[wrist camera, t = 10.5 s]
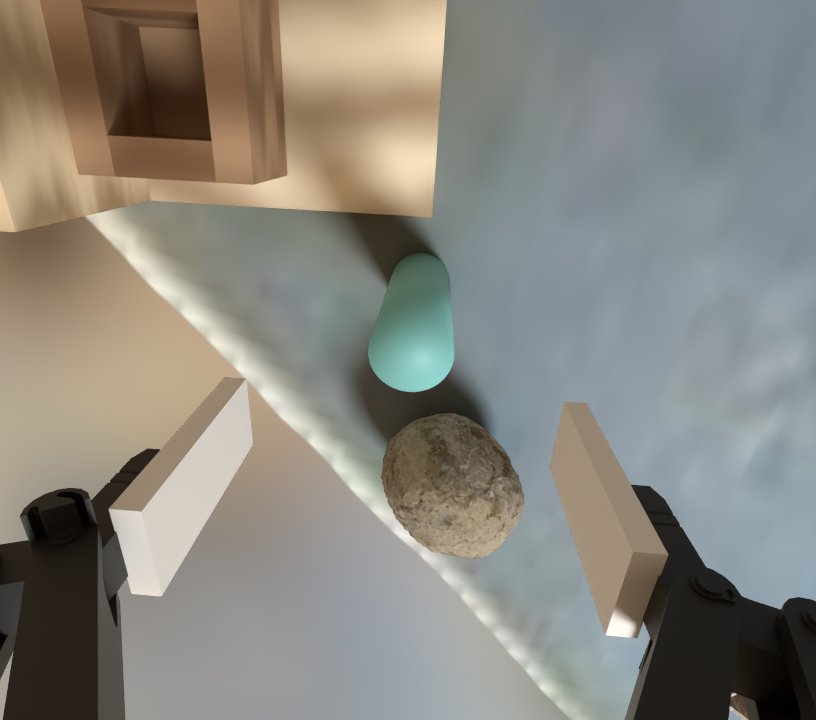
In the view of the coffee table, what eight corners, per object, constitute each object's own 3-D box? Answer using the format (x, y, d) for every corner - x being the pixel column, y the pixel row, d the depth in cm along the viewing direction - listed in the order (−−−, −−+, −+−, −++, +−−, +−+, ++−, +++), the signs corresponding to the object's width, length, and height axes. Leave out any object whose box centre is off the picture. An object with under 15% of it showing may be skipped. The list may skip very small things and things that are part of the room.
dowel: (392, 251, 33) (368, 310, 22) (452, 254, 33) (458, 316, 22) (390, 307, 34) (367, 388, 24) (447, 311, 34) (450, 395, 23)
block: (113, -12, 26) (28, -50, 21) (278, -4, 26) (235, -40, 21) (143, 167, 30) (78, 174, 25) (287, 175, 30) (253, 184, 24)
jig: (83, -53, 27) (-162, -180, 16) (449, -37, 26) (456, -159, 15) (129, 196, 32) (-30, 229, 21) (432, 214, 32) (428, 257, 21)
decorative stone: (365, 431, 39) (343, 521, 30) (445, 368, 36) (448, 446, 27) (450, 508, 42) (452, 612, 33) (530, 455, 39) (558, 552, 30)
